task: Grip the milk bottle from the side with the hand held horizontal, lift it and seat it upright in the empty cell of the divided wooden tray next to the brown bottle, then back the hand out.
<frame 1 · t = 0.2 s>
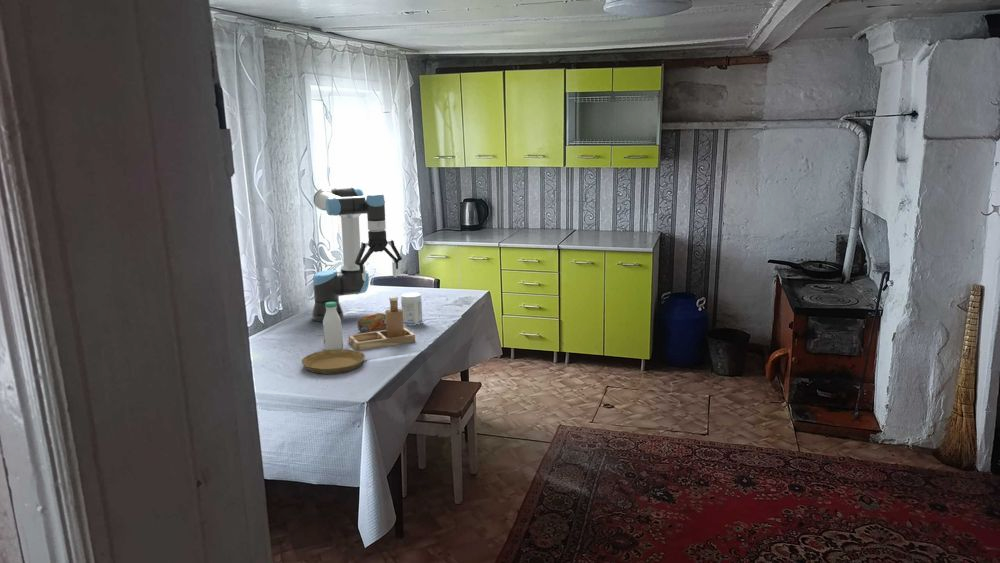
hand: (379, 278, 291), 28 cm above the table, tool pointing down, fingers open, 13 cm apart
divided wooden tray: (382, 343, 290), on the table
milk bottle: (333, 348, 285), on the table
supplement tub: (412, 324, 320), on the table
tin: (373, 332, 309), on the table
brown bottle: (395, 339, 293), point 1 cm above the table, touching divided wooden tray
plant saucer: (334, 366, 264), on the table
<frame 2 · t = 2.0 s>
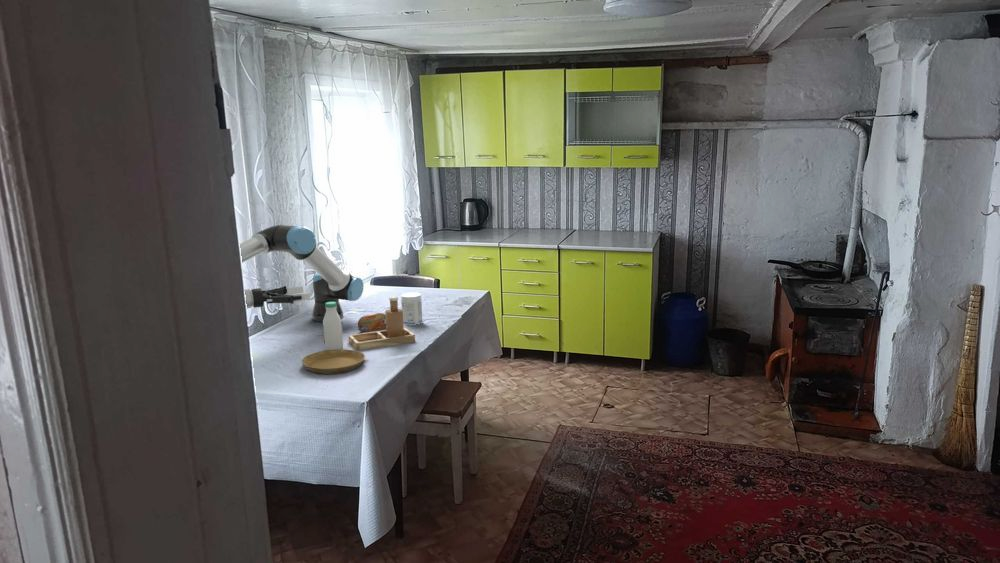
hand: (306, 292, 275), 25 cm above the table, tool horizontal, fingers open, 13 cm apart
nothing on the table moved.
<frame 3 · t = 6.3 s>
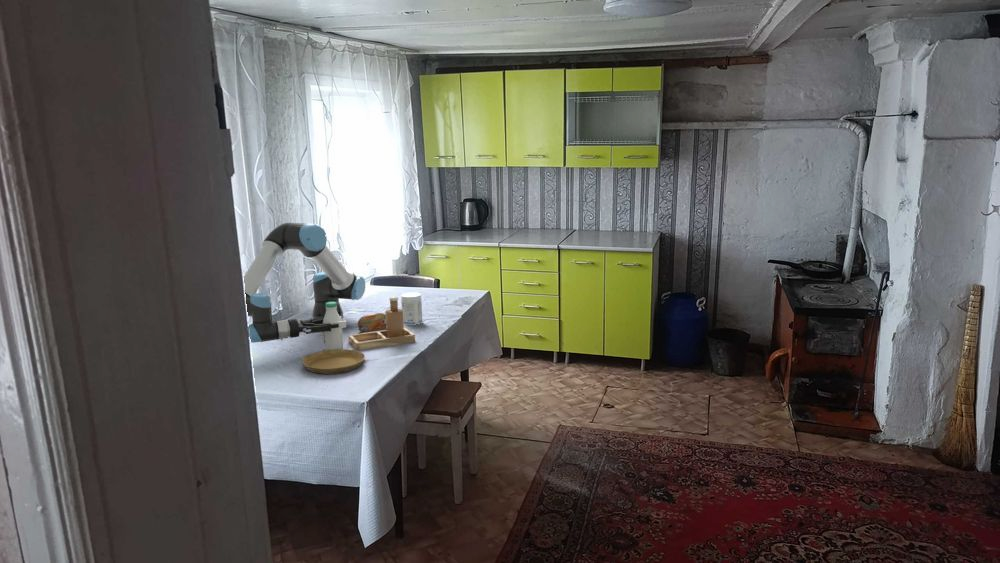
hand: (343, 321, 285), 11 cm above the table, tool horizontal, fingers closed on milk bottle, 7 cm apart
milk bottle: (333, 348, 285), on the table, touching gripper
everything else where it was.
when the fingers open (13 cm above the table, at t = 10.2 s): milk bottle stays where it is, resting on divided wooden tray.
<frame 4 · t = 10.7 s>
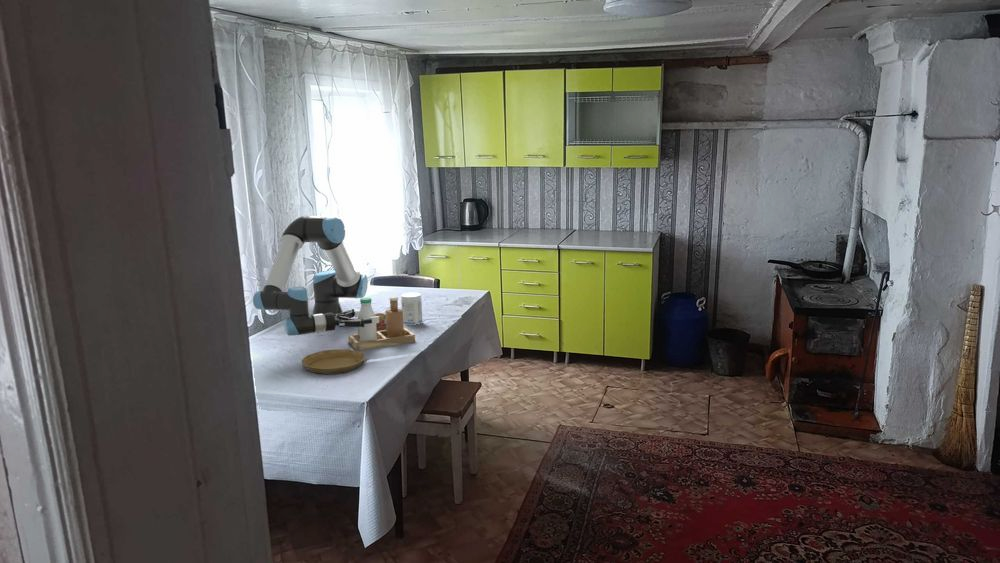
hand: (374, 315, 286), 13 cm above the table, tool horizontal, fingers open, 13 cm apart
milk bottle: (368, 344, 288), point 1 cm above the table, touching divided wooden tray
everything else where it was.
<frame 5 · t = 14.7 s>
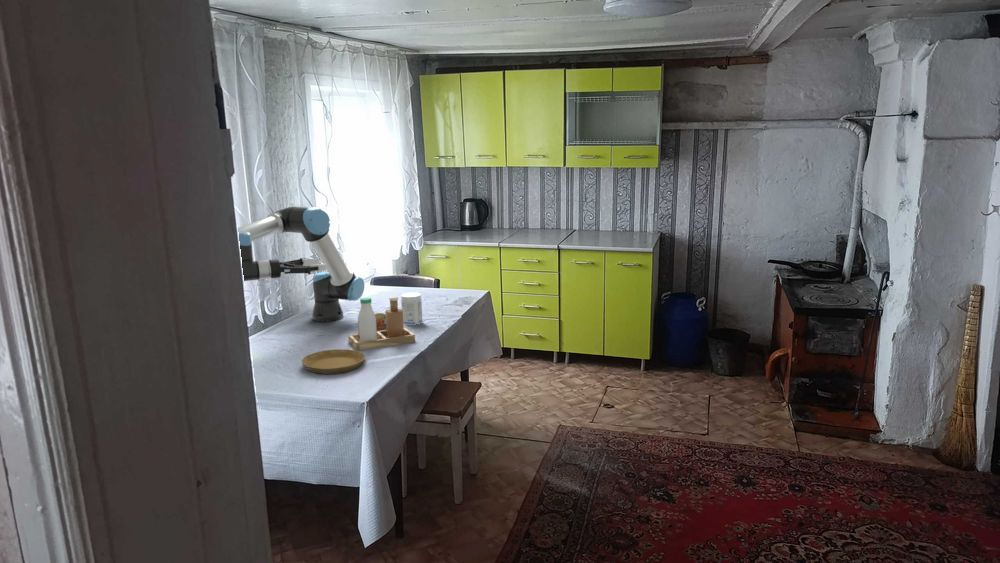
hand: (322, 264, 279), 36 cm above the table, tool horizontal, fingers open, 13 cm apart
nothing on the table moved.
at the end: milk bottle inside the target area on the divided wooden tray (0.1 cm from its centre), point 0.8 cm above the divided wooden tray's base; milk bottle tilted 0°; the gripper is holding nothing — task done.
